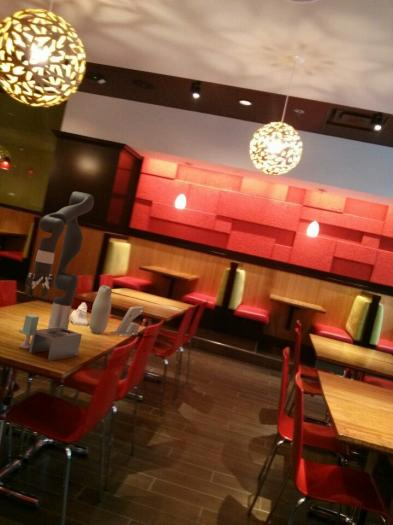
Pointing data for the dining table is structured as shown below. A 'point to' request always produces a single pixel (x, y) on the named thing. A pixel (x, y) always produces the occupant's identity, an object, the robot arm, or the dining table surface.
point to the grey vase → (101, 310)
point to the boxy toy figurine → (29, 329)
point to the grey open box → (56, 342)
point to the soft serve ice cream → (80, 315)
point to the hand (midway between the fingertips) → (36, 296)
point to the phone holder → (129, 322)
